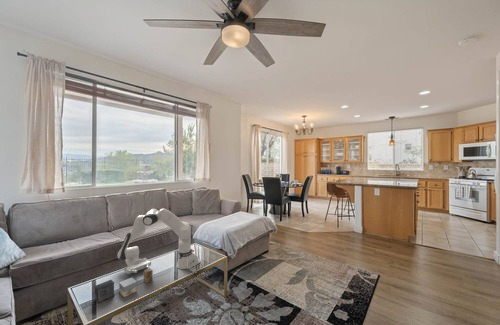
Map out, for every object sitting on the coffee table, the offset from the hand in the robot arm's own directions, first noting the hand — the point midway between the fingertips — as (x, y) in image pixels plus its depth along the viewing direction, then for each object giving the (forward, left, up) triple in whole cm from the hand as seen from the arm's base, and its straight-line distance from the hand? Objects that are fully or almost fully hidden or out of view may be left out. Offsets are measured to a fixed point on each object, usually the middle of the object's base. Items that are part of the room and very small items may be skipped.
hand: (142, 269), depth 179 cm
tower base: (+16, +15, -6) cm, 23 cm away
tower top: (+16, +15, -2) cm, 22 cm away
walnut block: (0, +12, -5) cm, 13 cm away
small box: (+30, +10, -5) cm, 32 cm away
